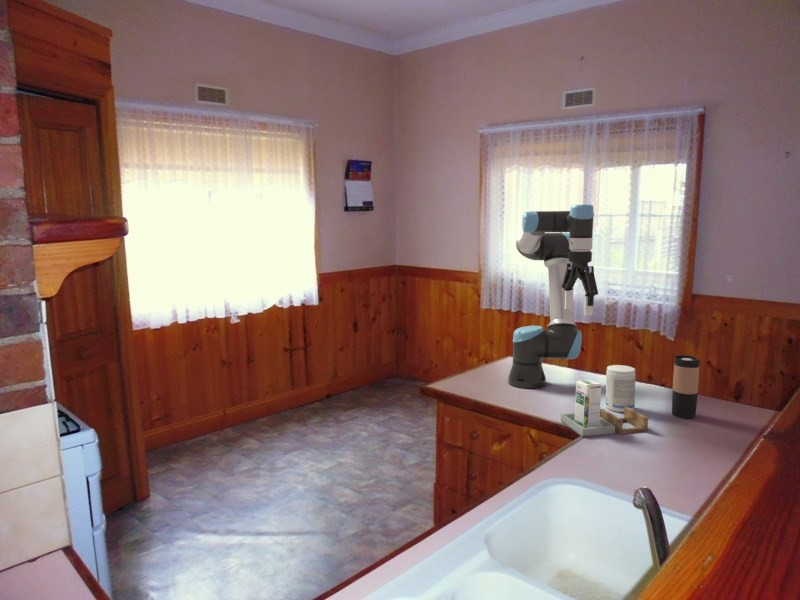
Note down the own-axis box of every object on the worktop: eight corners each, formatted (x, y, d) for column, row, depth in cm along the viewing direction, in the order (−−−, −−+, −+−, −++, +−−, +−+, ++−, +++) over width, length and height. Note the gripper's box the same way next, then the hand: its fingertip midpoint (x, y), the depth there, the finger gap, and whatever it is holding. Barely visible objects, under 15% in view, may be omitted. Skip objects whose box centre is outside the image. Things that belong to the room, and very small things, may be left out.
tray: (560, 421, 184) (560, 414, 184) (591, 418, 186) (591, 411, 186) (582, 437, 170) (582, 429, 170) (614, 434, 172) (615, 426, 172)
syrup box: (573, 424, 180) (574, 380, 178) (588, 421, 182) (589, 378, 180) (585, 430, 175) (586, 385, 173) (600, 427, 177) (602, 383, 175)
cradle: (599, 422, 183) (599, 408, 182) (626, 419, 185) (627, 406, 184) (618, 434, 172) (619, 420, 172) (647, 431, 174) (648, 418, 173)
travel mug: (667, 415, 188) (671, 358, 185) (675, 410, 194) (678, 354, 191) (692, 421, 183) (696, 362, 180) (699, 414, 188) (703, 357, 186)
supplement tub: (640, 409, 194) (642, 369, 192) (623, 415, 189) (625, 373, 187) (615, 402, 202) (617, 363, 200) (599, 407, 197) (600, 367, 195)
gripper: (553, 248, 200) (551, 306, 203) (589, 252, 176) (587, 318, 179) (572, 248, 201) (570, 306, 205) (611, 252, 177) (608, 317, 180)
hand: (578, 312), depth 192 cm, fingers open, 13 cm apart
